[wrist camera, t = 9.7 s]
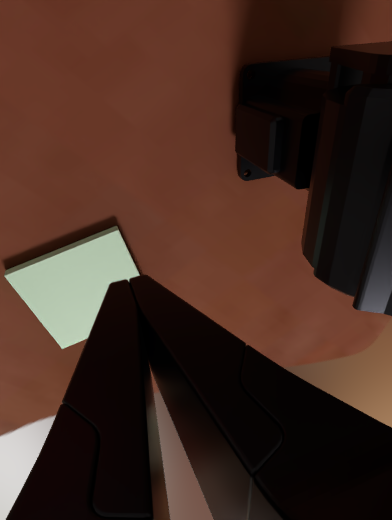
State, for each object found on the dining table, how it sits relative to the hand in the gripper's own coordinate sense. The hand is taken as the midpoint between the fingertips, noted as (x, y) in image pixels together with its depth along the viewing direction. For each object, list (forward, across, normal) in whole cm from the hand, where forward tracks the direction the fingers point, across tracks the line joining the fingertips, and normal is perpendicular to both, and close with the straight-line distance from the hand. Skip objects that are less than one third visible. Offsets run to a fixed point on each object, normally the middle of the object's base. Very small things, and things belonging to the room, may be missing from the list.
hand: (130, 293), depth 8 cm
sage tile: (+13, +2, +9) cm, 16 cm away
